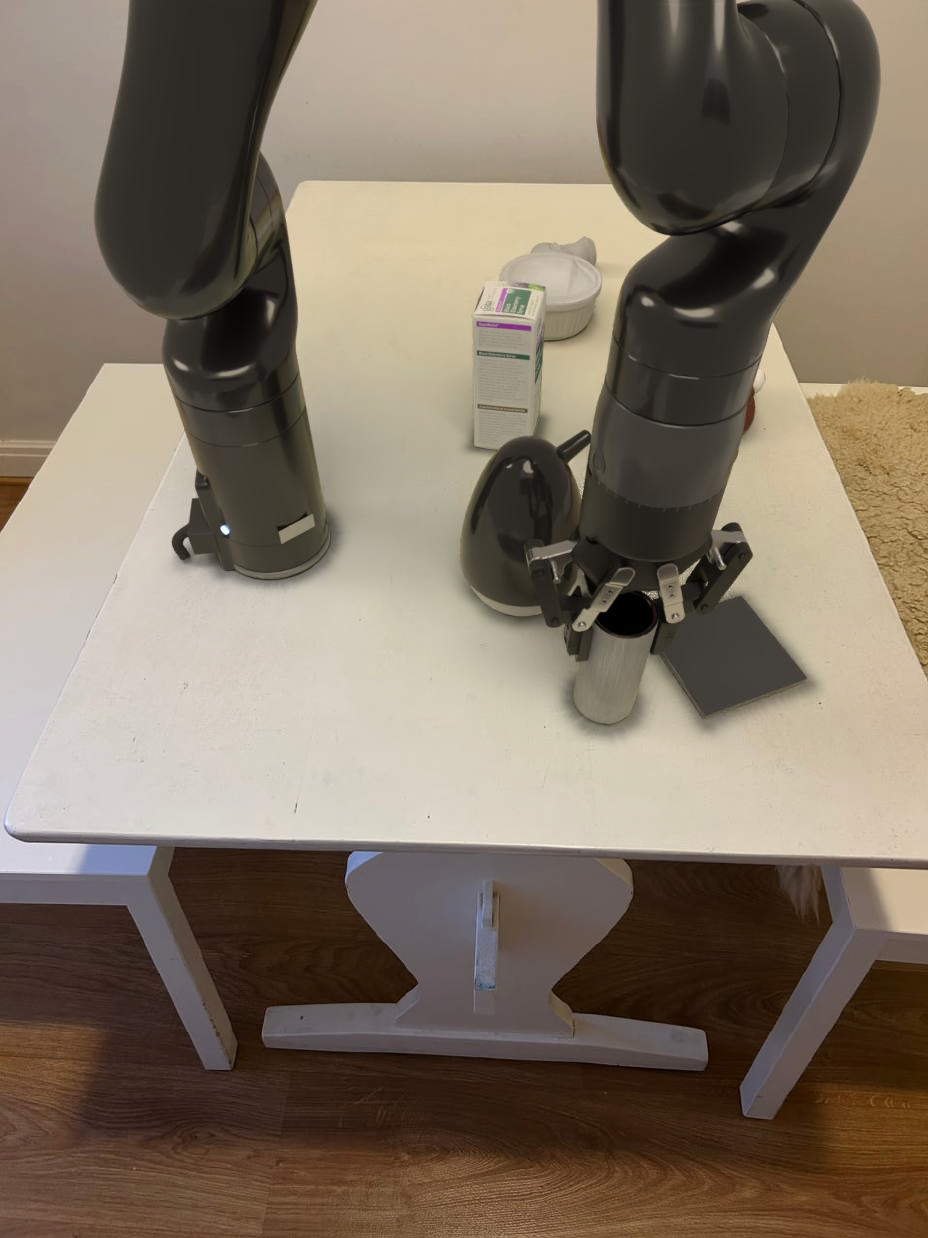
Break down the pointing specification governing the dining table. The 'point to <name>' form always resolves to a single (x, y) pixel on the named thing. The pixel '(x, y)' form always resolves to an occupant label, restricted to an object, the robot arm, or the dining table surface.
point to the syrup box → (507, 361)
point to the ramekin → (559, 289)
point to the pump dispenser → (520, 519)
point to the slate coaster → (729, 658)
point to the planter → (616, 658)
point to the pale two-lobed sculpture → (571, 249)
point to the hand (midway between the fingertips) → (615, 647)
